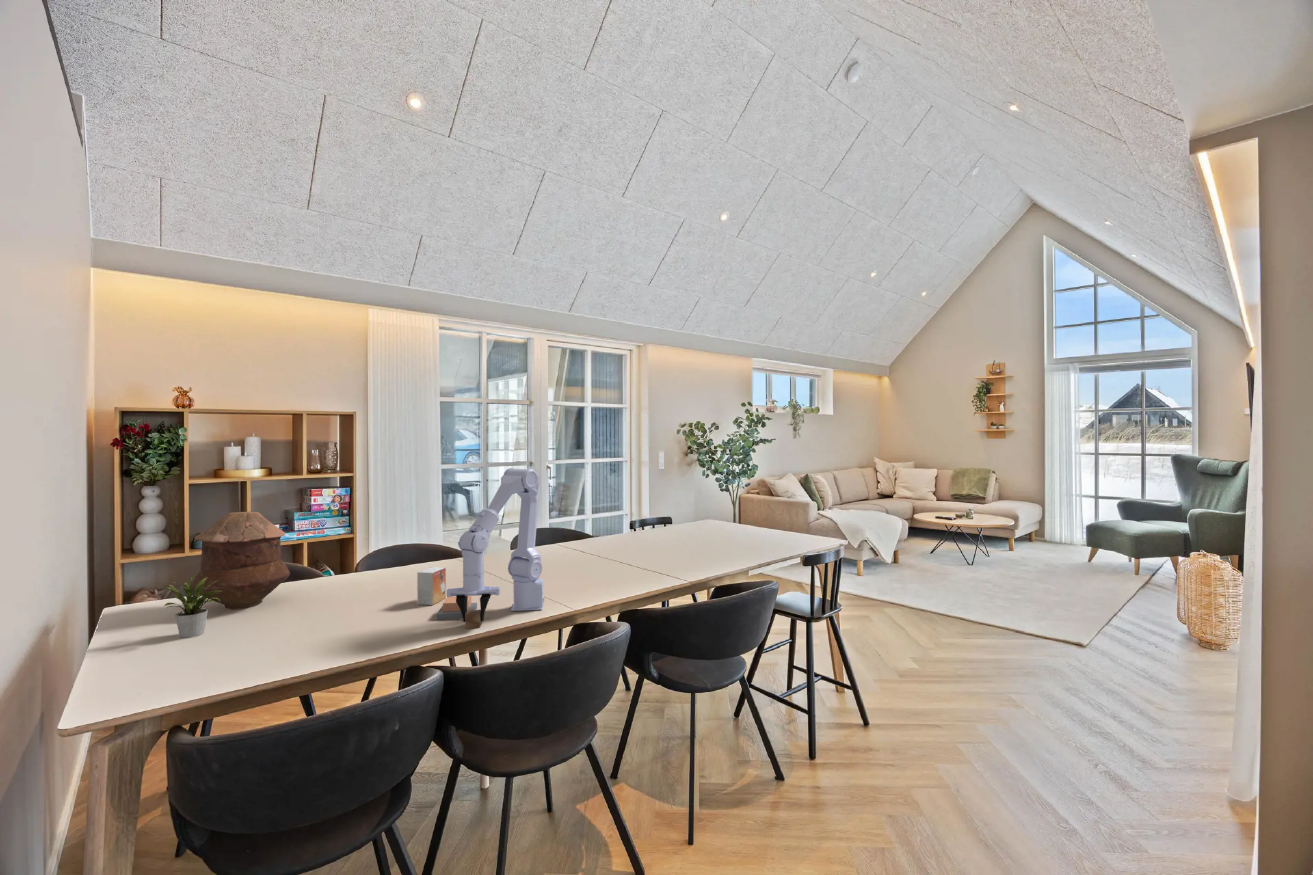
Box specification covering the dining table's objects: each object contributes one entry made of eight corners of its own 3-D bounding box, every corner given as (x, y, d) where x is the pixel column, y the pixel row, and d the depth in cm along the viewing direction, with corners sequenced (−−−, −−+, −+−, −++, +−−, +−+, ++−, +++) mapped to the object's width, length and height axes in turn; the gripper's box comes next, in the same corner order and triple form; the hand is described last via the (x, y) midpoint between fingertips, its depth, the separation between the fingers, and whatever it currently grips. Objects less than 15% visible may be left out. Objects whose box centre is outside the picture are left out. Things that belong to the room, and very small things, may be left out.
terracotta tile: (471, 603, 182) (471, 595, 182) (466, 610, 175) (466, 602, 175) (448, 604, 181) (448, 596, 181) (442, 611, 174) (442, 603, 174)
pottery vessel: (177, 621, 172) (176, 519, 172) (207, 598, 196) (207, 509, 195) (279, 611, 181) (279, 515, 181) (296, 590, 205) (296, 505, 205)
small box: (432, 605, 187) (432, 572, 187) (416, 604, 188) (416, 572, 188) (446, 598, 195) (446, 567, 195) (431, 597, 196) (431, 566, 196)
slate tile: (477, 610, 183) (477, 602, 183) (471, 620, 174) (471, 612, 174) (444, 611, 182) (444, 603, 182) (436, 622, 172) (436, 613, 172)
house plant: (164, 649, 149) (164, 585, 149) (144, 639, 156) (143, 578, 156) (229, 633, 161) (228, 574, 161) (207, 624, 169) (206, 568, 168)
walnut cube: (482, 623, 169) (482, 609, 169) (479, 627, 165) (479, 613, 165) (467, 623, 169) (467, 610, 169) (465, 628, 165) (465, 614, 165)
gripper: (444, 577, 162) (444, 626, 162) (497, 575, 164) (497, 623, 164) (449, 571, 169) (449, 618, 169) (501, 569, 171) (501, 616, 171)
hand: (473, 620), depth 167 cm, fingers closed on walnut cube, 4 cm apart
